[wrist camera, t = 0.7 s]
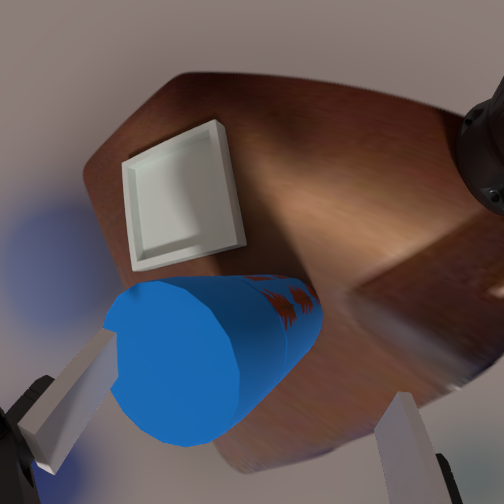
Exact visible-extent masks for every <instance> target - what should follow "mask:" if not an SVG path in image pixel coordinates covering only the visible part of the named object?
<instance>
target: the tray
mask: <svg viewBox="0 0 504 504" xmlns="http://www.w3.org/2000/svg"><path fill="white" fill-rule="evenodd" d="M122 174H123V189H124V201H125V212H126V222H127V231H128V240H129V248H130V256H131V263H132V270H133V271H147V270H151V269H155V268H159V267H163V266H167V265H171V264H175V263H179V262H183V261H187V260H191V259H195V258H199V257H203V256H207V255H211V254H215V253H219V252H223V251H227V250H231V249H235V248H239V247H243V246H247V242H246V237H245V232H244V227H243V221H242V216H241V211H240V206H239V200H238V195H237V190H236V184H235V179H234V174H233V168H232V163H231V158H230V153H229V147H228V142H227V137H226V131H225V127H224V126H223V125H222V124H220V123H219V122H218V121H217V120H215V119H214V120H212V121H210V122H207V123H205V124H203V125H200V126H198V127H196V128H193V129H191V130H189V131H187V132H184V133H182V134H180V135H178V136H176V137H173V138H171V139H169V140H167V141H165V142H163V143H161V144H159V145H157V146H155V147H153V148H151V149H149V150H147V151H145V152H143V153H141V154H139V155H137V156H135V157H133V158H131V159H129V160H127V161H125V162H123V163H122Z"/></svg>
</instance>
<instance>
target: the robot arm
mask: <svg viewBox="0 0 504 504" xmlns="http://www.w3.org/2000/svg"><path fill="white" fill-rule="evenodd" d="M455 149H456V159H457V164H458V167H459V170H460V173H461V176H462V178H463V180H464V182H465V184H466V186H467V187H468V189H469V190H470V192H471V193H472V194H473V195H474V197H475V198H476V199H477V200H478V201H479V202H480V203H481V204H482V205H483V206H485V207H486V208H487V209H489V210H490V211H492V212H494V213H496V214H498V215H501V216H504V77H503V79H502V80H501V83H500V84H499V86H498V88H497V90H496V92H495V93H494V95H493V97H492V98H491V99H489V100H487V101H484V102H482V103H480V104H478V105H476V106H475V107H473V108H472V109H471V110H470V111H469V112H468V113H467V115H466V116H465V118H464V119H463V121H462V123H461V125H460V127H459V130H458V133H457V137H456V146H455ZM117 378H118V364H117V338H116V333H115V332H113V331H110V330H107V329H104V328H101V329H100V330H99V332H98V333H97V334H96V335H95V336H94V337H93V338H92V339H91V340H90V341H89V342H88V344H87V345H86V346H85V347H84V348H83V349H82V350H81V351H80V352H79V353H78V354H77V356H76V357H75V358H74V359H73V360H72V361H71V362H70V363H69V364H68V366H67V367H66V368H65V369H64V370H63V371H62V372H61V374H60V375H59V376H58V377H57V378H56V379H54V378H52V377H50V376H48V375H45V376H43V377H41V378H39V379H37V380H36V381H35V382H34V383H33V384H32V385H31V386H30V387H29V389H27V390H26V392H25V393H24V394H23V396H21V397H20V398H19V399H18V400H17V402H16V403H15V404H14V405H13V406H12V407H11V408H10V409H9V410H8V412H7V413H6V414H5V413H4V411H3V410H2V409H1V407H0V504H41V503H40V499H39V496H38V491H37V487H36V483H35V479H34V475H33V470H32V467H31V463H32V462H33V460H34V459H35V461H36V463H37V464H38V466H39V467H41V468H42V469H44V470H46V471H48V472H49V473H51V474H53V475H55V474H56V472H57V470H58V469H59V467H60V466H61V464H62V462H63V461H64V459H65V458H66V456H67V454H68V453H69V451H70V450H71V448H72V447H73V445H74V443H75V442H76V440H77V439H78V437H79V436H80V434H81V432H82V431H83V429H84V427H85V426H86V425H87V423H88V422H89V420H90V418H91V417H92V416H93V414H94V412H95V411H96V409H97V408H98V406H99V405H100V403H101V402H102V400H103V399H104V397H105V396H106V394H107V393H108V391H109V390H110V388H111V387H112V385H113V384H114V382H115V381H116V379H117ZM374 432H375V436H376V440H377V444H378V449H379V453H380V457H381V462H382V466H383V471H384V475H385V480H386V485H387V490H388V495H389V500H390V504H463V503H462V500H461V497H460V494H459V491H458V488H457V485H456V482H455V480H454V479H453V478H454V477H453V474H452V472H451V469H450V466H449V463H448V461H447V460H446V459H445V457H444V456H443V455H442V454H441V453H440V454H435V452H434V449H433V447H432V444H431V442H430V439H429V436H428V434H427V431H426V429H425V426H424V424H423V421H422V418H421V416H420V414H419V411H418V409H417V406H416V404H415V401H414V399H413V397H412V394H411V393H407V392H397V394H396V396H395V397H394V399H393V401H392V402H391V404H390V405H389V407H388V409H387V410H386V412H385V413H384V415H383V417H382V418H381V420H380V421H379V423H378V424H377V426H376V427H375V429H374Z"/></svg>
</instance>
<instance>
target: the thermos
mask: <svg viewBox="0 0 504 504" xmlns="http://www.w3.org/2000/svg"><path fill="white" fill-rule="evenodd" d="M322 318H323V311H322V308H321V304H320V301H319V298H318V297H317V295H316V294H315V293H314V291H313V290H312V289H311V287H310V286H308V285H307V284H305V283H304V282H302V281H301V280H299V279H296V278H292V277H288V276H283V275H276V274H272V275H238V276H193V277H172V278H164V279H157V280H151V281H147V282H142V283H138V284H135V285H134V286H132V287H131V288H129V289H128V290H126V291H125V292H123V293H122V294H120V295H119V296H118V297H117V299H116V300H115V302H114V303H113V305H112V306H111V308H110V310H109V311H108V313H107V314H106V317H105V322H104V326H103V328H104V329H107V330H110V331H113V332H115V333H116V338H117V364H118V378H117V379H116V381H115V382H114V384H113V385H112V387H111V388H110V390H111V392H112V394H113V395H114V397H115V399H116V401H117V402H118V404H119V405H120V407H121V409H122V411H123V412H124V413H125V414H126V415H127V416H128V417H129V418H130V419H131V420H132V421H133V422H134V423H135V424H136V425H137V426H138V427H139V428H140V429H141V430H142V431H144V432H146V433H147V434H149V435H151V436H152V437H154V438H156V439H158V440H159V441H161V442H164V443H168V444H173V445H178V446H183V447H189V446H195V445H200V444H205V443H209V442H211V441H212V440H214V439H216V438H218V437H219V436H221V435H223V434H224V433H225V432H227V431H228V430H229V429H231V428H232V427H233V426H234V425H236V424H237V423H238V422H239V421H241V420H242V419H243V418H244V417H245V416H246V415H247V414H248V413H249V412H250V411H251V410H252V409H253V408H254V407H255V406H256V405H257V404H258V403H259V402H260V401H261V400H262V399H263V398H264V397H265V396H266V395H267V394H268V393H269V392H270V391H271V390H272V389H273V388H274V387H275V386H276V385H277V384H278V383H279V382H280V381H281V380H282V379H283V378H284V377H285V376H286V375H287V374H288V372H289V371H290V370H291V369H292V368H293V367H294V366H295V365H296V364H297V363H298V362H299V361H300V359H301V358H302V357H303V356H304V355H305V354H306V353H307V352H308V351H309V350H310V348H311V347H312V346H313V344H314V342H315V341H316V339H317V337H318V334H319V332H320V330H321V328H322Z"/></svg>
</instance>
